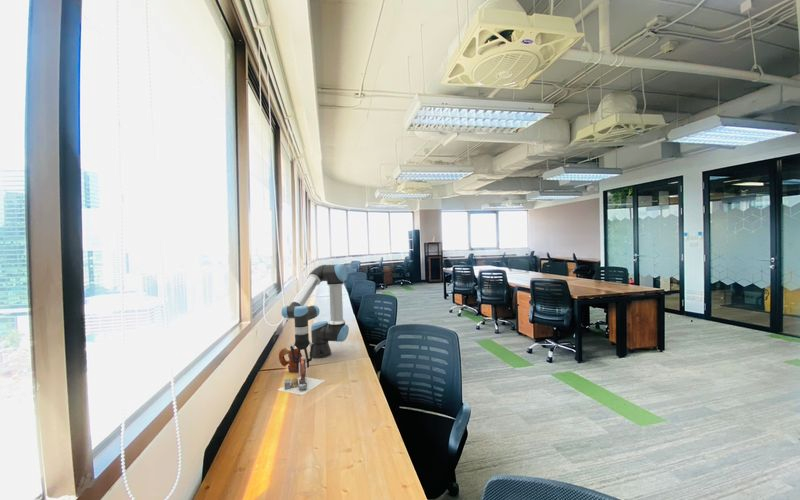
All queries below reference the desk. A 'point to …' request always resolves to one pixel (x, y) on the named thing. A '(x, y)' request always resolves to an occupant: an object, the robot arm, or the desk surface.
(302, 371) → the lever
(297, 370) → the mug
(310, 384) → the bench board
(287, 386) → the grey rectangular block
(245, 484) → the desk surface
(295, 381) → the tan short cylinder
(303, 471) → the desk surface
